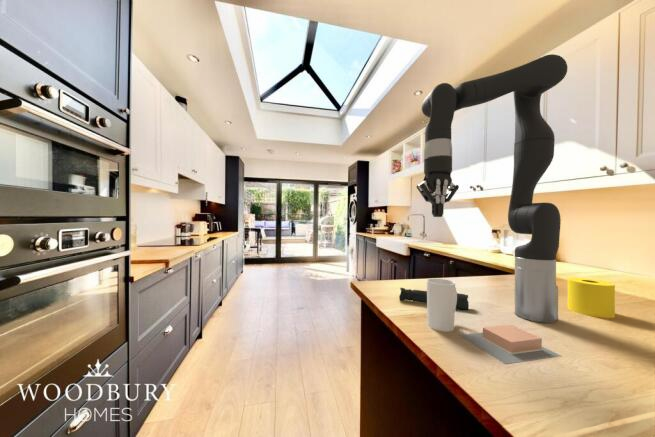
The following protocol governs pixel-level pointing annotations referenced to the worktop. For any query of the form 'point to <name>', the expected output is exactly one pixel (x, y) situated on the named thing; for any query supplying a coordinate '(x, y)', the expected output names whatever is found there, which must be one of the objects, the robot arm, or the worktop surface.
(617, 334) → the worktop surface
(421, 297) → the flashlight
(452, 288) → the mug
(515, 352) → the tile
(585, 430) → the worktop surface
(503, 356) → the mat
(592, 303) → the tape roll
